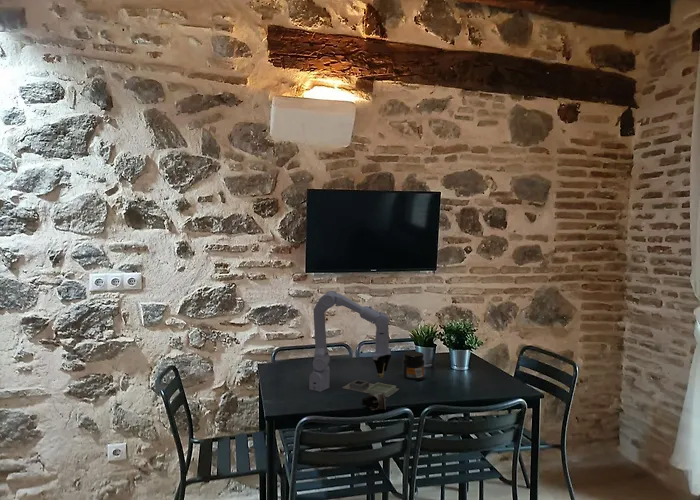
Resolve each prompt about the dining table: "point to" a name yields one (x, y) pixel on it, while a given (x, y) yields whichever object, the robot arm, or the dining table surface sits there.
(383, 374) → the lock pin
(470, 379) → the dining table surface
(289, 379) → the dining table surface
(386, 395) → the plate
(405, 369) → the supplement container
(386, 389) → the tray
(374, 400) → the caster wheel
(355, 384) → the tensioner collar
